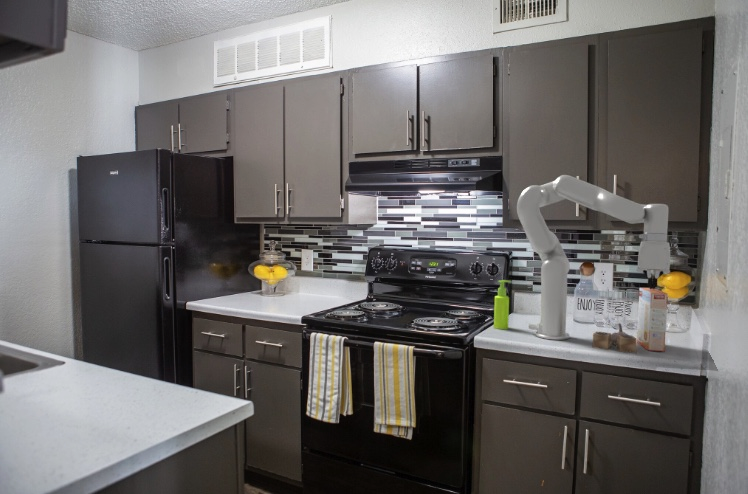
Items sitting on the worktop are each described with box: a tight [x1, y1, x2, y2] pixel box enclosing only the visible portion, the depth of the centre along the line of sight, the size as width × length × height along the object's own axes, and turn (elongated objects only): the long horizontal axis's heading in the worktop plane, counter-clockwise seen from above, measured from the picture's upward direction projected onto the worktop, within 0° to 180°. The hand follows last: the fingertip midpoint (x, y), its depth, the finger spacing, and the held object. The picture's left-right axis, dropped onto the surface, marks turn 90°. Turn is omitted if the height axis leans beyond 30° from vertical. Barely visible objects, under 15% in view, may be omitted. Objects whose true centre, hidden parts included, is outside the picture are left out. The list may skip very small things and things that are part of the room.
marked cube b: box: [592, 331, 612, 350], centre depth 193 cm, size 5×5×5 cm
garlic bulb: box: [611, 322, 629, 346], centre depth 198 cm, size 8×7×8 cm
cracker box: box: [636, 287, 669, 352], centre depth 194 cm, size 14×6×21 cm, turn 168°
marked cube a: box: [616, 334, 637, 354], centre depth 189 cm, size 5×5×5 cm
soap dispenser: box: [493, 279, 513, 330], centre depth 224 cm, size 6×7×20 cm
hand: (652, 288), depth 194 cm, fingers closed
